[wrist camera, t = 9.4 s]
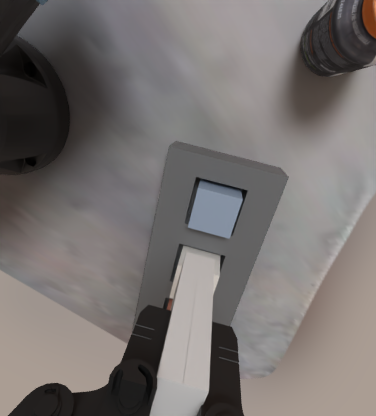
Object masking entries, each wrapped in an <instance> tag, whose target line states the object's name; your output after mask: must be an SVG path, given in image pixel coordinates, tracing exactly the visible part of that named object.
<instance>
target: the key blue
mask: <svg viewBox="0 0 376 416" xmlns="http://www.w3.org/2000/svg"><path fill="white" fill-rule="evenodd" d="M242 200H243V198H242V193H241V188H237V187H233V186H229V185H225V184H221V183H218V182H214V181H210V180H206V179H202V178H201V180H200V183H199V186H198V190H197V194H196V197H195V201H194V205H193V209H192V213H191V217H190V221H189V225H188V228H191V229H195V230H199V231H203V232H206V233H210V234H214V235H217V236H221V237H225V238H229V239H230V236H231V233H232V230H233V227H234V224H235V221H236V218H237V215H238V212H239V209H240V206H241V203H242Z"/></svg>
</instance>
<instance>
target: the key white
mask: <svg viewBox="0 0 376 416" xmlns="http://www.w3.org/2000/svg"><path fill="white" fill-rule="evenodd" d="M186 252H189V253H193V254H196V255H200V256H203V257H207V258H211V259H214V260H215V262H214V285H213V294H214V291H215V288H216V286H217V283H218V280H219V277H220V255H217V254H214V253H210V252H206V251H203V250H199V249H195V248H191V247H188V246H184V245H183V249H182V252H181V256H180V259H179V262H178V266H177V270H176V274H175V278H174V281H173V285H172V289H171V293H170V297H169V298H172V299H173V297H174V293H175V290H176V286H177V282H178V279H179V275H180V272H181V268H182V265H183V261H184V258H185V254H186Z"/></svg>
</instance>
